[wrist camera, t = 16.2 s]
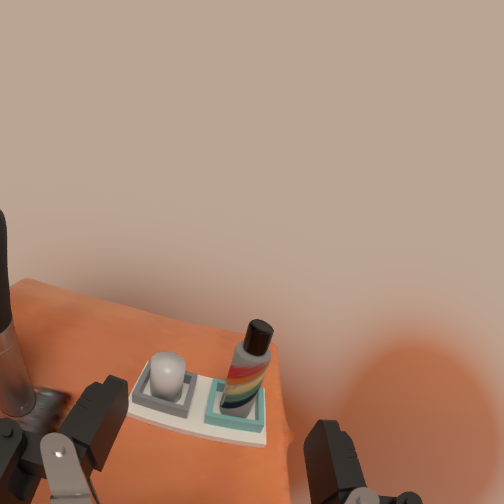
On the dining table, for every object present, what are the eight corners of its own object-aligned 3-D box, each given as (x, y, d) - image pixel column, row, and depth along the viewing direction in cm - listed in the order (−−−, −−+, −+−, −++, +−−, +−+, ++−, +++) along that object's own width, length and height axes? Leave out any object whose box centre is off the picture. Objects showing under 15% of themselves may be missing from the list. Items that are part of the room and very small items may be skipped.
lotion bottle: (215, 401, 45) (237, 314, 40) (242, 398, 48) (270, 314, 42) (224, 423, 40) (252, 336, 35) (253, 419, 43) (288, 334, 37)
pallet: (122, 414, 36) (119, 379, 34) (147, 365, 51) (149, 330, 48) (263, 448, 38) (280, 418, 35) (262, 393, 52) (275, 360, 50)
